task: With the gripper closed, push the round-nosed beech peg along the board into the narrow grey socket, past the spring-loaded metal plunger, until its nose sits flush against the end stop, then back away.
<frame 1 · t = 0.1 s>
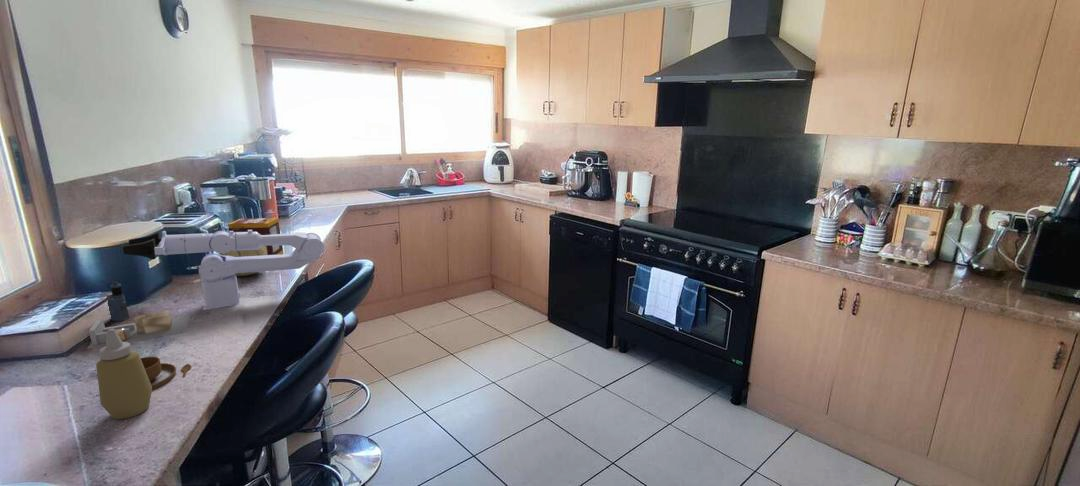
hand: (126, 246, 138), 22 cm above the countertop, tool horizontal, fingers open, 7 cm apart
place setting: (148, 375, 114), on the countertop
supplement box: (259, 257, 202), on the countertop
cantaloupe: (247, 275, 181), on the countertop
squeeze bottle: (131, 412, 99), on the countertop
peg: (159, 328, 135), point 1 cm above the countertop, touching socket board
socket board: (142, 333, 133), on the countertop
vaping device: (120, 321, 141), on the countertop
plunger: (119, 334, 129), point 2 cm above the countertop, slide at 0.0 cm
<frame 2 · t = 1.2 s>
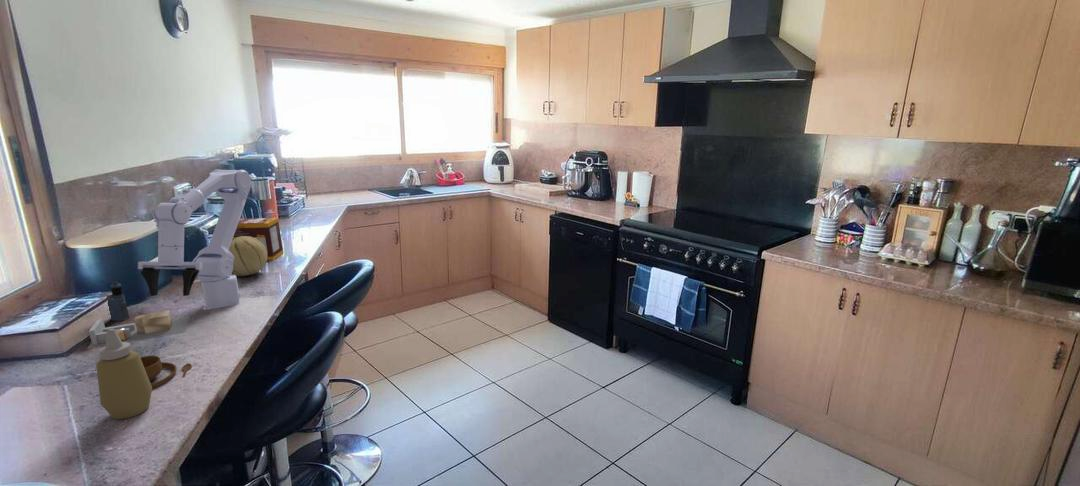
hand: (170, 295, 135), 10 cm above the countertop, tool pointing down, fingers open, 7 cm apart
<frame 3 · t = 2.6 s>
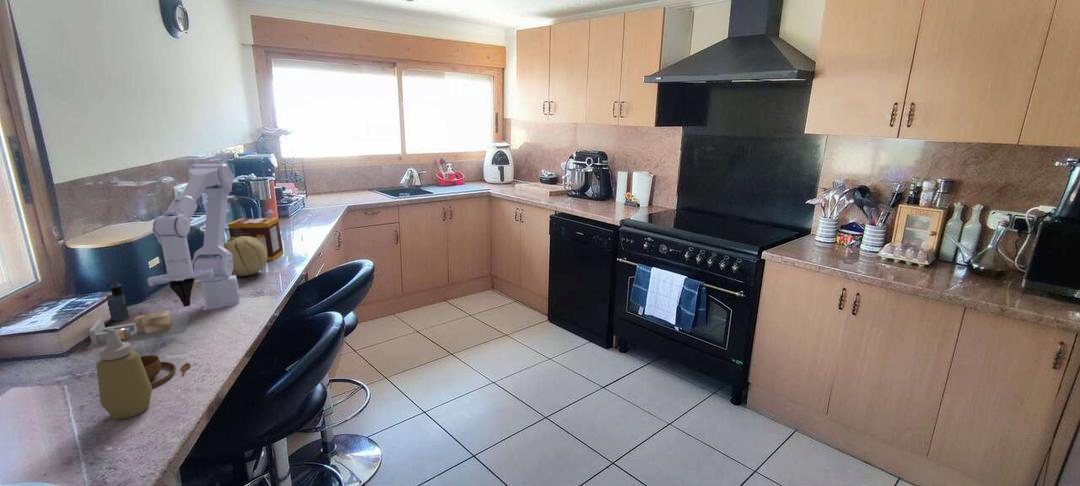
hand: (187, 305, 137), 6 cm above the countertop, tool pointing down, fingers closed
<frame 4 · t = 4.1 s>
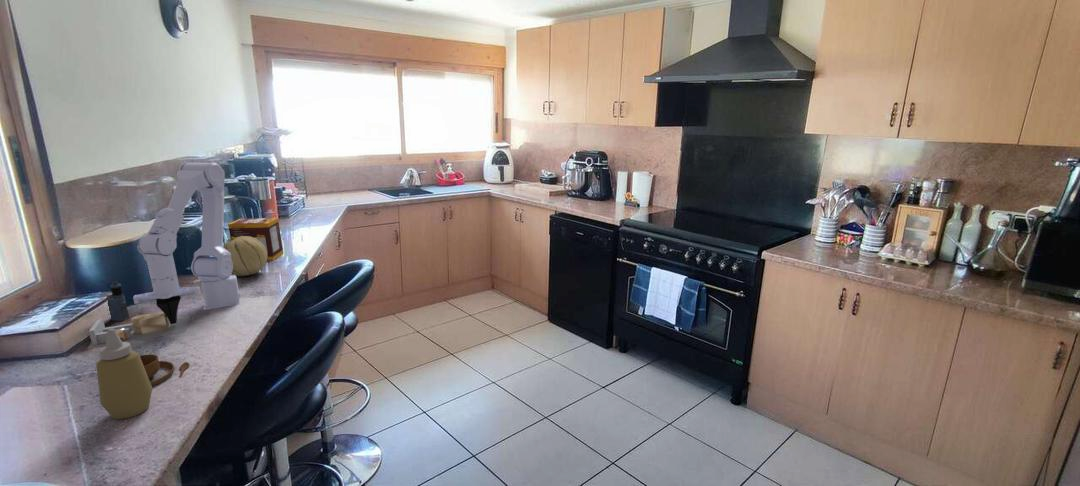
hand: (173, 322, 136), 2 cm above the countertop, tool pointing down, fingers closed
peg: (156, 328, 135), point 1 cm above the countertop, touching gripper
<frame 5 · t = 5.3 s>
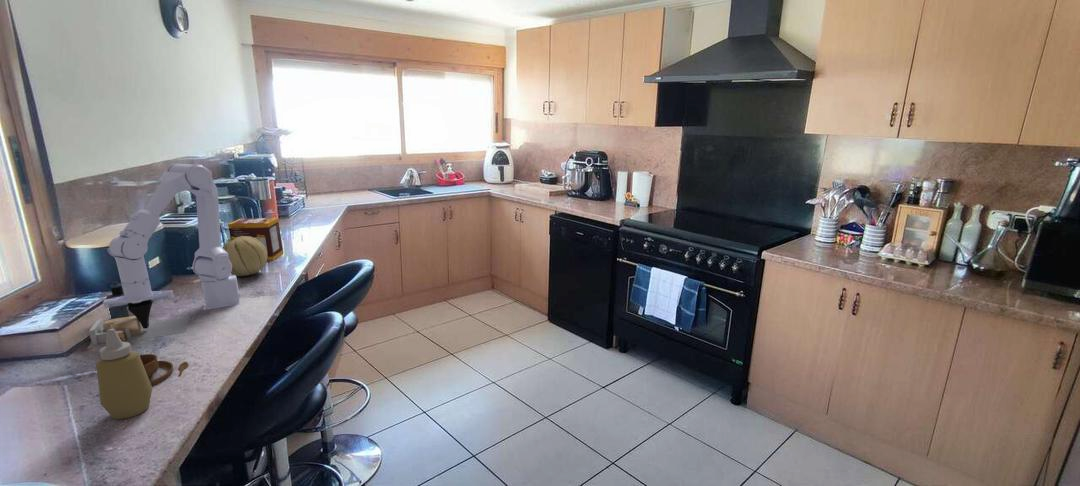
hand: (146, 327, 133), 2 cm above the countertop, tool pointing down, fingers closed
peg: (128, 333, 132), point 1 cm above the countertop, touching gripper, plunger, socket board
plunger: (119, 335, 128), point 2 cm above the countertop, slide at 0.6 cm, touching peg
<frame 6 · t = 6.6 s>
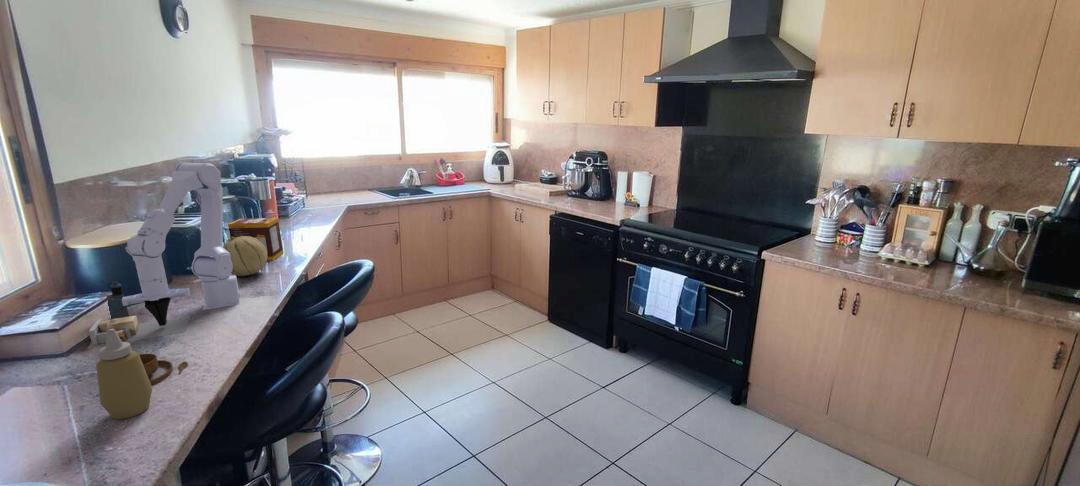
hand: (163, 324, 135), 2 cm above the countertop, tool pointing down, fingers closed
peg: (125, 333, 132), point 1 cm above the countertop, touching plunger, socket board
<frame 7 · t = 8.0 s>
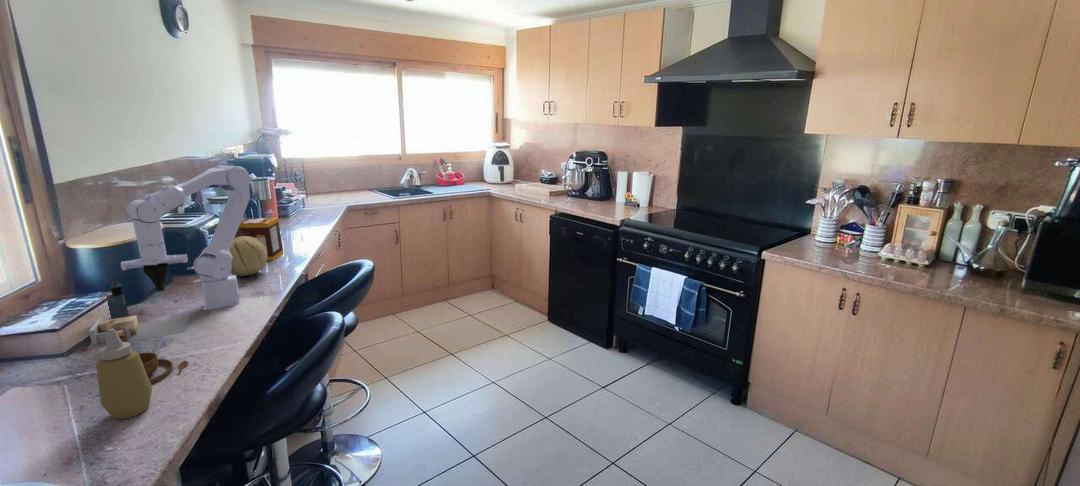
hand: (161, 289, 138), 10 cm above the countertop, tool pointing down, fingers closed
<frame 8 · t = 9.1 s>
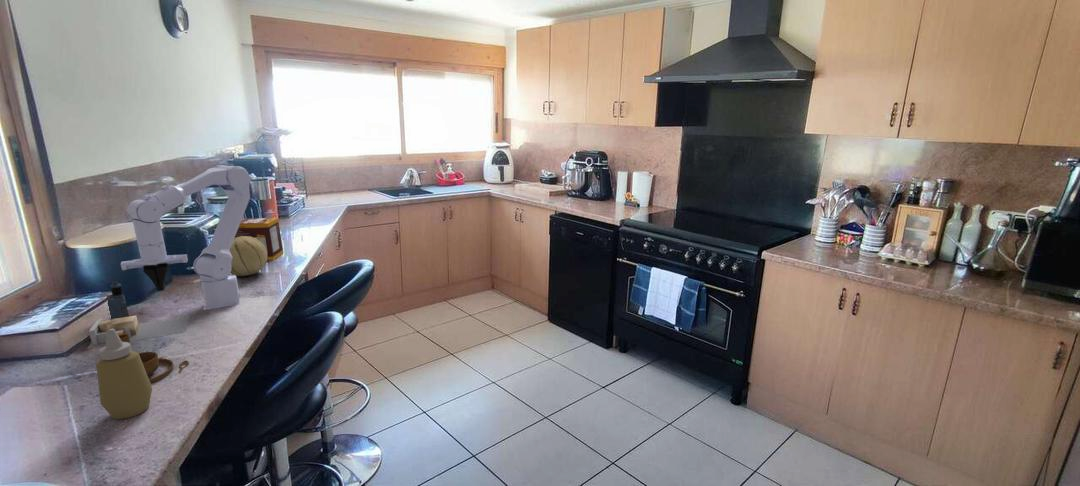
hand: (161, 289, 138), 10 cm above the countertop, tool pointing down, fingers closed
at the end: peg 0.5 cm from the target spot on the socket board, point 0.6 cm above the socket board's base; plunger slide at 0.6 cm; peg tilted 0° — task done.
